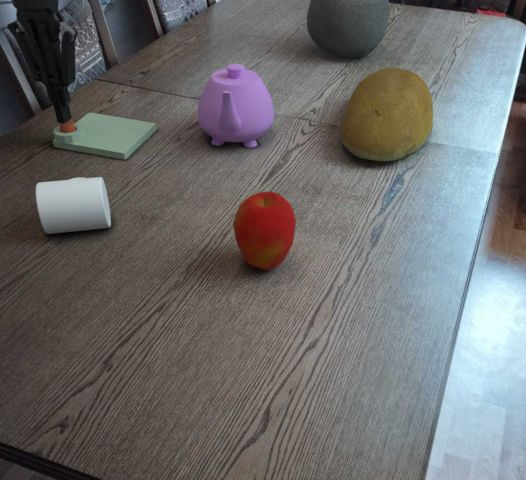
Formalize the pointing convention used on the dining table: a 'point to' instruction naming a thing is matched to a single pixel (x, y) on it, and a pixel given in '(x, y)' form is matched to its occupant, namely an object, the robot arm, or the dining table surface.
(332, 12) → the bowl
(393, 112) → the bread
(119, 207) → the dining table surface
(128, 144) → the scale
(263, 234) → the apple
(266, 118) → the teapot
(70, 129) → the scale button
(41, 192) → the mug
